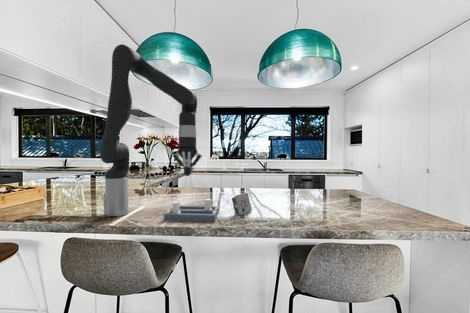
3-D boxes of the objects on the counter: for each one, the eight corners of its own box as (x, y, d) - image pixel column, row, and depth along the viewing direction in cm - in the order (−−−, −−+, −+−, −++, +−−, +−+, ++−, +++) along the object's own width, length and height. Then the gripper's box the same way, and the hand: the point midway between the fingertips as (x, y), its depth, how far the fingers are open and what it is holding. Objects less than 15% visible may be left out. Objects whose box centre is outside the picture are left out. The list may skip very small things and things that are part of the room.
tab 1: (171, 215, 100) (171, 203, 100) (173, 213, 104) (173, 201, 103) (178, 215, 100) (178, 203, 100) (181, 213, 103) (181, 201, 103)
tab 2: (203, 212, 106) (203, 200, 105) (205, 209, 109) (205, 198, 109) (211, 212, 106) (211, 200, 105) (212, 210, 109) (212, 198, 109)
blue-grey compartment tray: (164, 220, 98) (164, 213, 98) (174, 210, 112) (174, 205, 112) (214, 221, 97) (214, 214, 97) (219, 211, 111) (219, 205, 111)
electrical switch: (240, 216, 104) (239, 196, 104) (231, 215, 107) (230, 195, 107) (252, 211, 111) (250, 192, 111) (243, 210, 115) (242, 192, 115)
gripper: (169, 135, 96) (169, 176, 97) (200, 136, 95) (200, 177, 97) (175, 136, 104) (175, 174, 105) (204, 136, 103) (204, 174, 104)
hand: (187, 175), depth 101 cm, fingers closed
